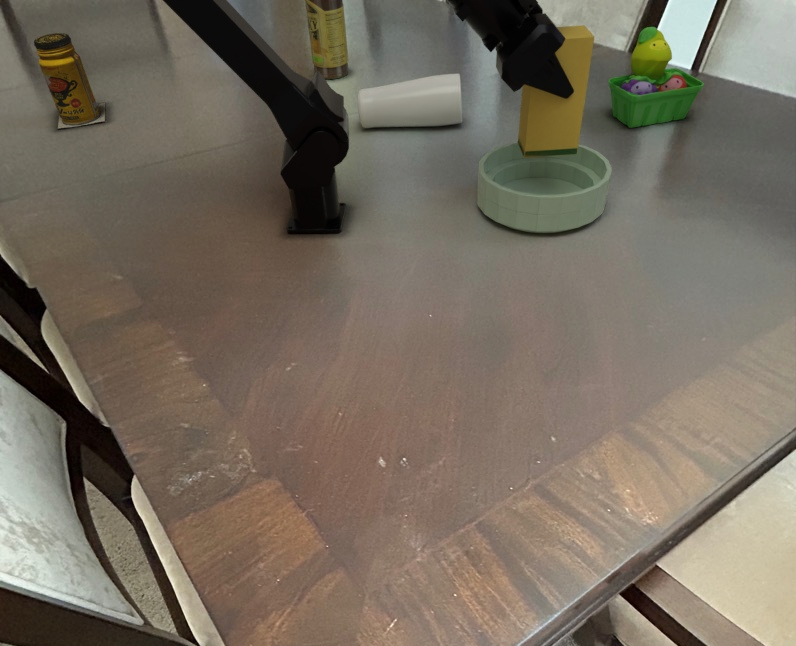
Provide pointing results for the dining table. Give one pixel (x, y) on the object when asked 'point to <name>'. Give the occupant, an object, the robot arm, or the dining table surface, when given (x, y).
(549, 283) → the dining table surface
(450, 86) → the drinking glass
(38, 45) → the condiment
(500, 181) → the bowl
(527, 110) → the sponge
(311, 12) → the sauce bottle
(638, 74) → the fruit basket
